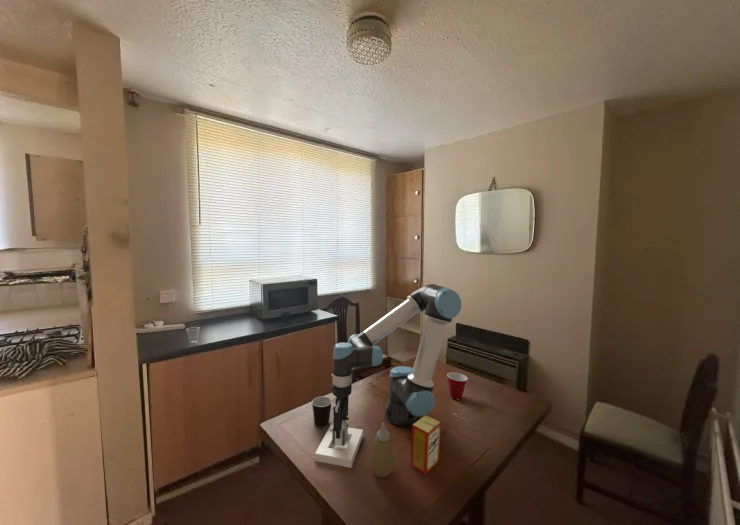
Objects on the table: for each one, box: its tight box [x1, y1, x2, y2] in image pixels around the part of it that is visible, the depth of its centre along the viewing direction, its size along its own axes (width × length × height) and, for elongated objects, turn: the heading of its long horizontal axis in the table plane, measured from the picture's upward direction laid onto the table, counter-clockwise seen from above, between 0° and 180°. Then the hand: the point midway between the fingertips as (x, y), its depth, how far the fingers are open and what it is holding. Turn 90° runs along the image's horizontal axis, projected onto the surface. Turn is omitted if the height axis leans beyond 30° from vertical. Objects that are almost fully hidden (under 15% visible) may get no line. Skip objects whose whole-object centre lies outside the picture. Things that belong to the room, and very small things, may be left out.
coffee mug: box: [311, 395, 333, 428], centre depth 136 cm, size 12×9×10 cm
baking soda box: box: [409, 414, 442, 476], centre depth 112 cm, size 10×6×16 cm
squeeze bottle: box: [370, 422, 394, 479], centre depth 107 cm, size 8×8×18 cm
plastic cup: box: [446, 372, 468, 400], centre depth 161 cm, size 11×11×12 cm
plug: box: [332, 421, 349, 446], centre depth 119 cm, size 5×4×7 cm
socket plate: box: [314, 424, 364, 469], centre depth 119 cm, size 14×18×4 cm
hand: (340, 440), depth 119 cm, fingers closed on plug, 4 cm apart
